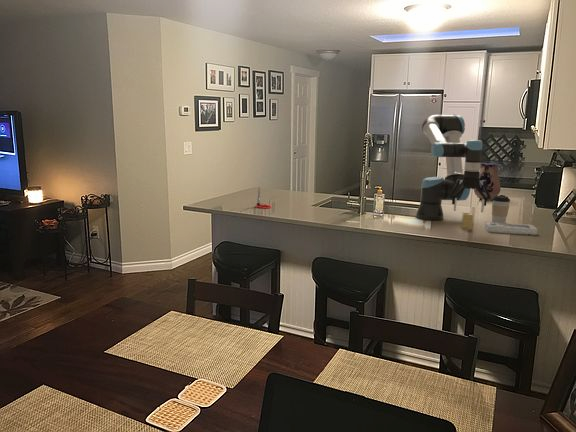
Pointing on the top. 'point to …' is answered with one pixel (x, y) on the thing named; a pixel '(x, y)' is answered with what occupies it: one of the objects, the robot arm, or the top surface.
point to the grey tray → (510, 228)
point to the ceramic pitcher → (489, 180)
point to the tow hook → (259, 202)
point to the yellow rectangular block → (467, 221)
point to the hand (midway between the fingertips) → (468, 211)
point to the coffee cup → (500, 209)
